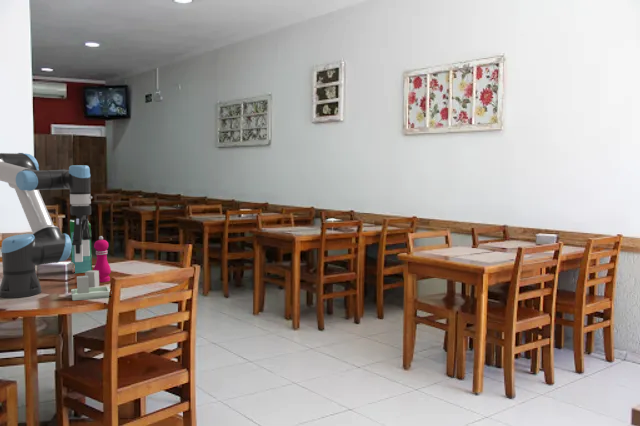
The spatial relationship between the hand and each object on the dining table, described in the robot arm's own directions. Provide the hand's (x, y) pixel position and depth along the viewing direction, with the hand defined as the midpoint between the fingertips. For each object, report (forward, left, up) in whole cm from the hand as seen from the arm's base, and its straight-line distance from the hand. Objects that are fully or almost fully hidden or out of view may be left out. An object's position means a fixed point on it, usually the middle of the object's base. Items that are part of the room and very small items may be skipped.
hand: (82, 258), depth 233 cm
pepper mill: (+9, +27, -15) cm, 32 cm away
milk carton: (+2, +56, -15) cm, 58 cm away
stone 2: (+4, +14, -15) cm, 21 cm away
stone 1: (0, -2, -14) cm, 14 cm away
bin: (+3, -2, -15) cm, 15 cm away
